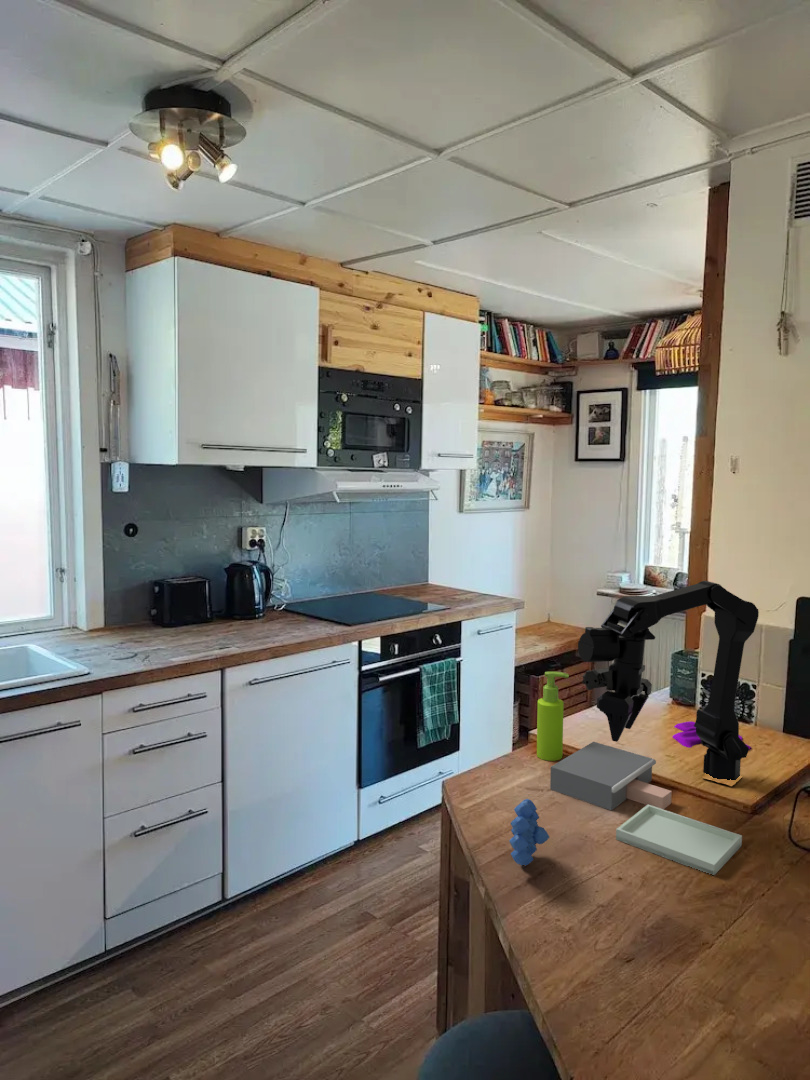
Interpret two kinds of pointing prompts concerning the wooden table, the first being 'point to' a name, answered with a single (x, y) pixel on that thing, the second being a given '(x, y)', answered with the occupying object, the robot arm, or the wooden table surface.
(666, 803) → the pink bar in dish
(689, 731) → the cloth
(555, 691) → the soap dispenser
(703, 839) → the tray
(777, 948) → the wooden table surface
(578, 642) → the robot arm
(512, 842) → the grapes
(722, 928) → the wooden table surface
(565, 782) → the block
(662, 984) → the wooden table surface
